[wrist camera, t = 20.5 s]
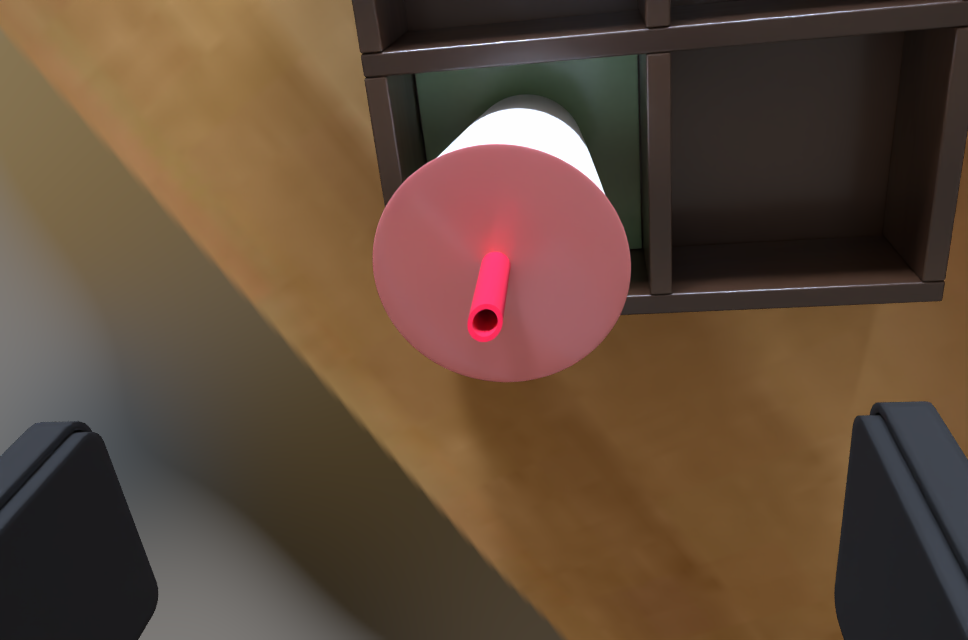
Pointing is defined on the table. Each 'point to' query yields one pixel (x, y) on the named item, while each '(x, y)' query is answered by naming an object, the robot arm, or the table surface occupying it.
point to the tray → (712, 131)
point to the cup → (505, 248)
